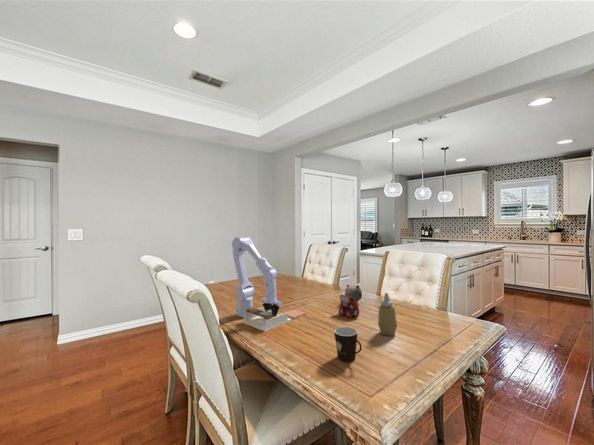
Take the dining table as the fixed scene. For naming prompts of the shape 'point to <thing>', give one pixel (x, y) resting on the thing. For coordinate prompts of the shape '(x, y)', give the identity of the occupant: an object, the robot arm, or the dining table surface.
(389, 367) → the dining table surface
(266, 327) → the puzzle board
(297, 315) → the salmon pink tile
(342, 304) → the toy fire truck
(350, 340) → the coffee mug
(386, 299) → the squeeze bottle
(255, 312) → the sliding bar
